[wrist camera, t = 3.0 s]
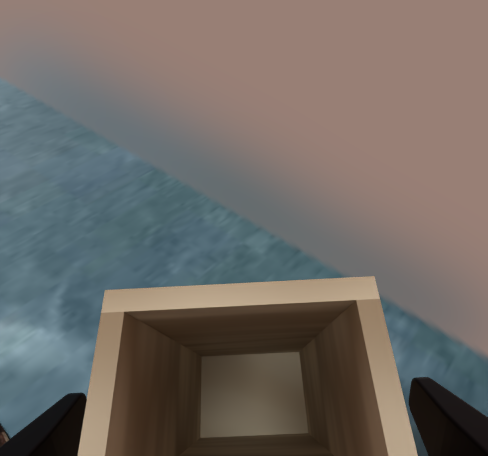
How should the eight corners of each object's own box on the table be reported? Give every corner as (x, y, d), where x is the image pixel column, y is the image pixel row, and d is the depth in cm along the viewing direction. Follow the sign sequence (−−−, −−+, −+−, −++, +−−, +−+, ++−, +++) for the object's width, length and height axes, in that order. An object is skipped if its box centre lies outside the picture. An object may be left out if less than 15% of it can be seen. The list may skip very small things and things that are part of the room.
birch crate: (319, 444, 15) (441, 554, 5) (191, 449, 15) (58, 568, 5) (306, 342, 17) (373, 276, 7) (194, 347, 17) (105, 290, 7)
